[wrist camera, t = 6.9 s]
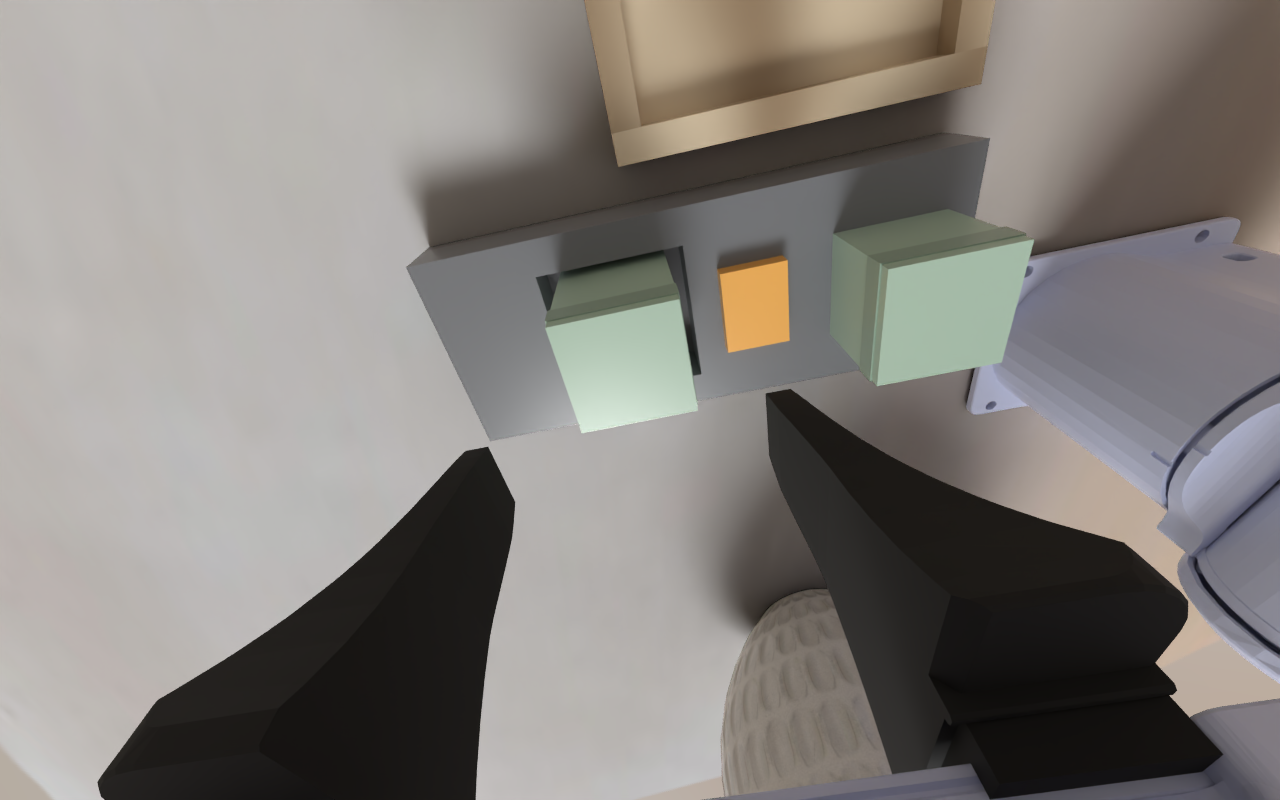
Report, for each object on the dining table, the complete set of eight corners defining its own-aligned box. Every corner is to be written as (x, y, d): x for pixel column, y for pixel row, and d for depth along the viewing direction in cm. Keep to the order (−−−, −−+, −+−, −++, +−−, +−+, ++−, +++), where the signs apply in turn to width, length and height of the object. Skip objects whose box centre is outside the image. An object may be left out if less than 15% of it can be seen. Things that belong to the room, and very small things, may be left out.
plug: (661, 241, 18) (680, 297, 13) (678, 333, 21) (699, 411, 16) (561, 263, 19) (542, 326, 14) (588, 352, 21) (580, 434, 16)
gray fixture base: (944, 132, 17) (1096, 151, 12) (916, 327, 22) (1018, 406, 16) (429, 247, 19) (354, 312, 13) (501, 409, 23) (467, 507, 18)
